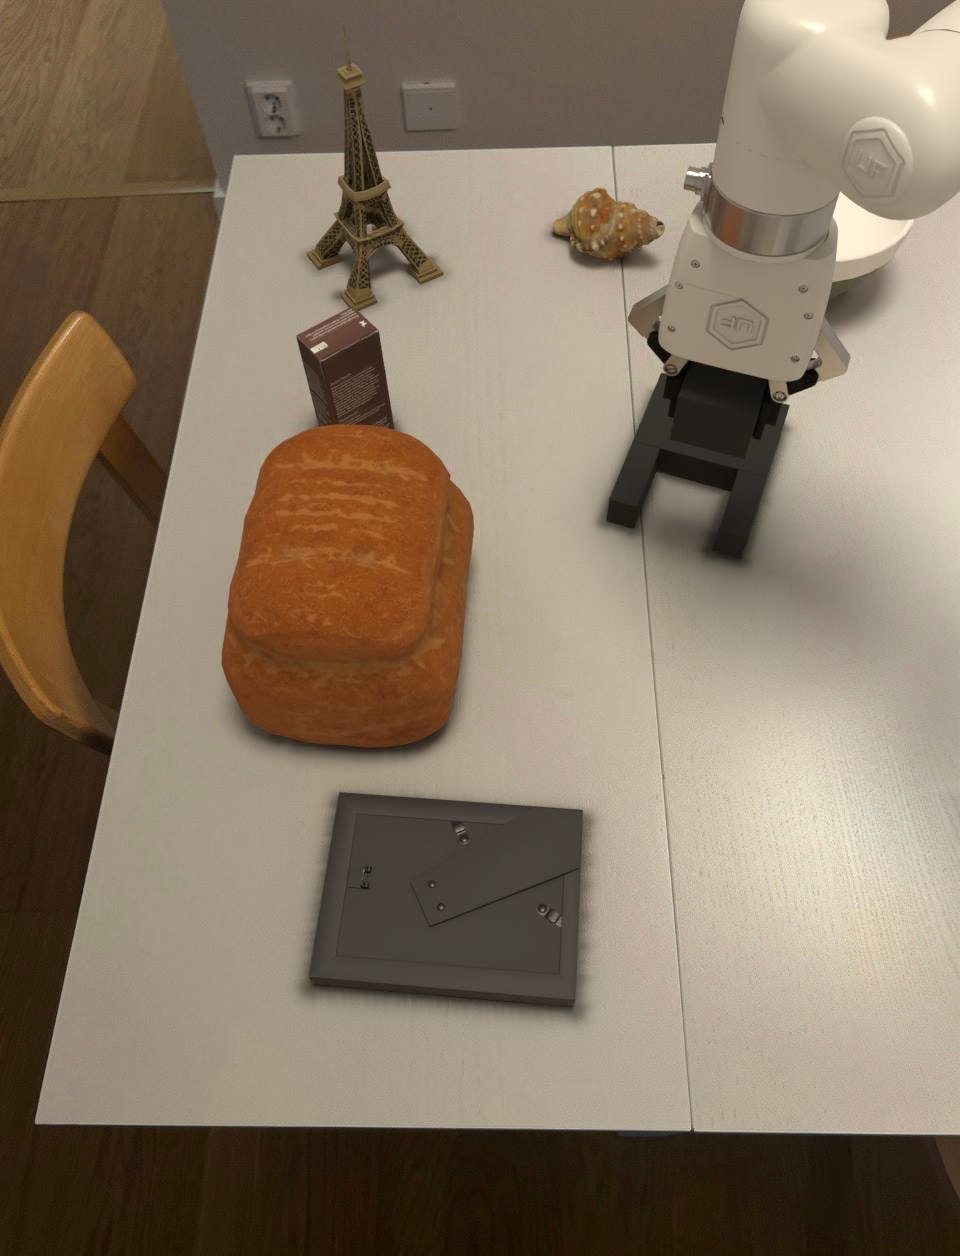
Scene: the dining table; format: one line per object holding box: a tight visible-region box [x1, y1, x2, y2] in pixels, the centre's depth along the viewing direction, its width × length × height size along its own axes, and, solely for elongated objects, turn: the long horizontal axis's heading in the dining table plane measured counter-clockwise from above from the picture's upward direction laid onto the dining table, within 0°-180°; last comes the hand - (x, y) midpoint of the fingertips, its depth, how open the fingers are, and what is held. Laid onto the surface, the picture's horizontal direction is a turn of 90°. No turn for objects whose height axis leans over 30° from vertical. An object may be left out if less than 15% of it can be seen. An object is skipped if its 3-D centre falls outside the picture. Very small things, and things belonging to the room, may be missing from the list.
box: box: [295, 306, 396, 430], centre depth 94 cm, size 6×4×12 cm
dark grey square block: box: [670, 361, 768, 459], centre depth 77 cm, size 6×6×4 cm
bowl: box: [828, 192, 916, 303], centre depth 105 cm, size 20×20×10 cm
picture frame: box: [308, 791, 584, 1008], centre depth 74 cm, size 13×2×18 cm
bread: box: [221, 424, 475, 748], centre depth 80 cm, size 18×22×17 cm
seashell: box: [552, 186, 666, 261], centre depth 110 cm, size 9×8×10 cm
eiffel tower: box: [306, 22, 444, 312], centre depth 101 cm, size 11×11×25 cm
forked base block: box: [606, 372, 791, 560], centre depth 94 cm, size 12×16×3 cm
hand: (718, 413), depth 79 cm, fingers closed on dark grey square block, 5 cm apart
